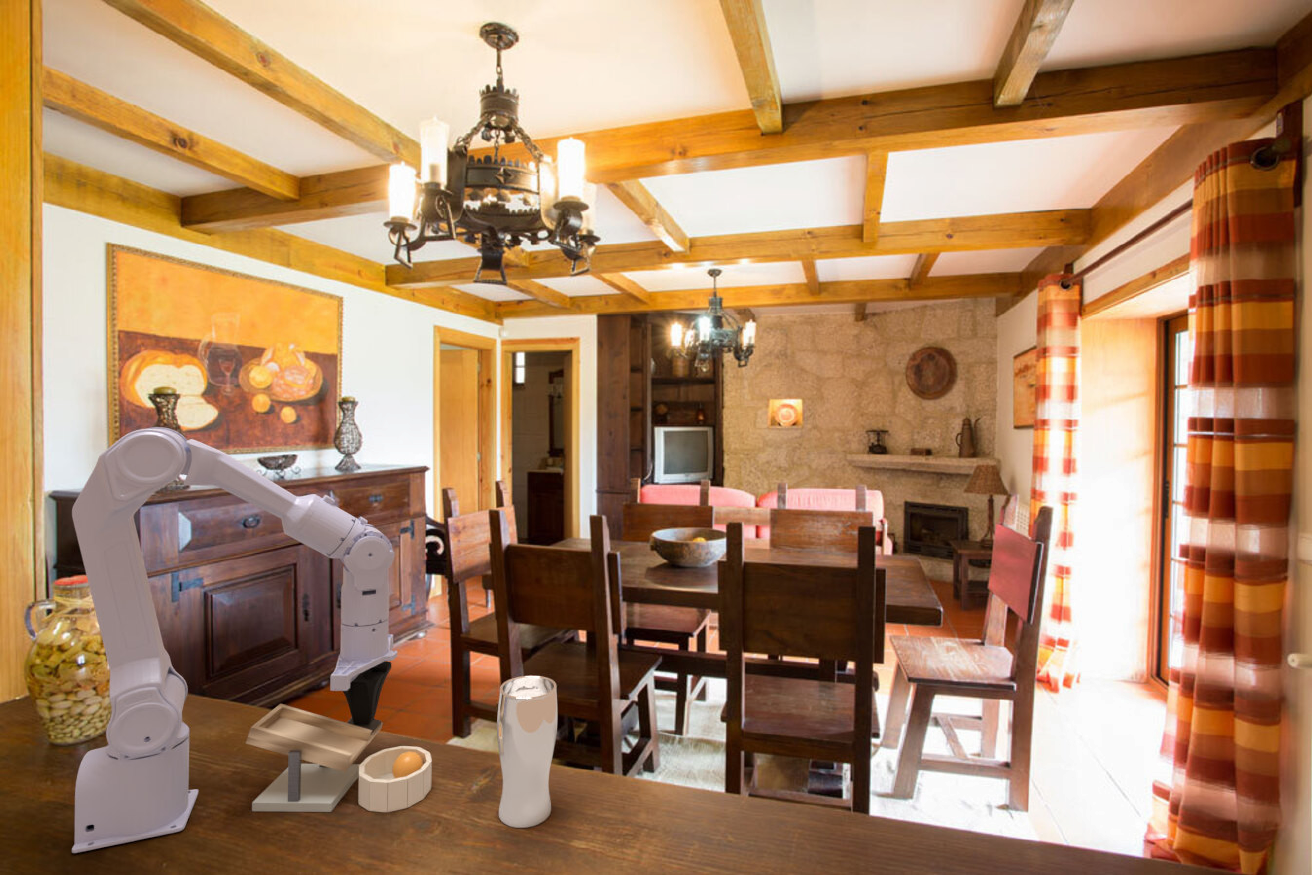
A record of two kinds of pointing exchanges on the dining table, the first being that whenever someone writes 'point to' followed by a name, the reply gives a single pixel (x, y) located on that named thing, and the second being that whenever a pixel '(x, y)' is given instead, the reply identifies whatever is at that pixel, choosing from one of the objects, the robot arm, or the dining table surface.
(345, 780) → the stand
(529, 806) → the beer glass
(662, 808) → the dining table surface
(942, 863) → the dining table surface
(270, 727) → the tilting wooden tray
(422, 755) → the cup
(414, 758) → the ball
